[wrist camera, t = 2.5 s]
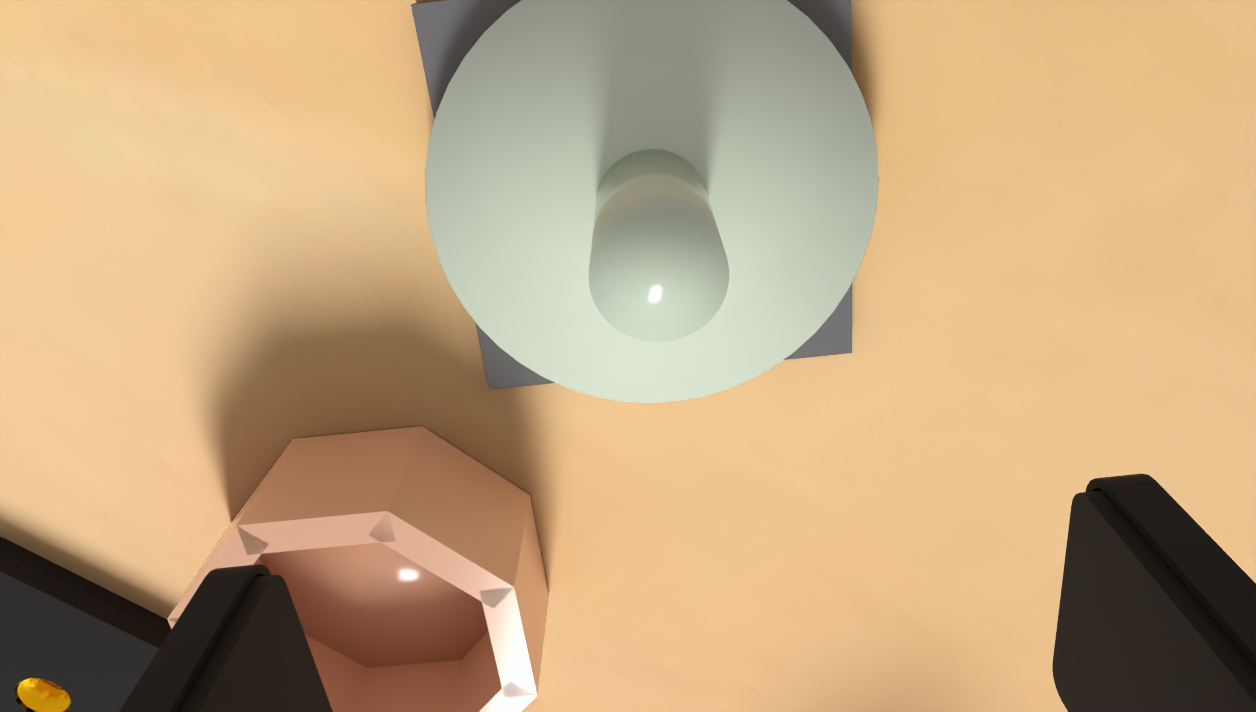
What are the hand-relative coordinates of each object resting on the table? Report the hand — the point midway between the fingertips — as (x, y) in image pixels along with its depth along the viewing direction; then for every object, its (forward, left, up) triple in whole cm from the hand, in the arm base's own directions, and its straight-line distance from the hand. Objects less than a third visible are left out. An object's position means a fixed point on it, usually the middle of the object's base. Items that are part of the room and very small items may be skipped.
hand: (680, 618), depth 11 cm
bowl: (+11, +13, -19) cm, 25 cm away
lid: (0, 0, -18) cm, 18 cm away
